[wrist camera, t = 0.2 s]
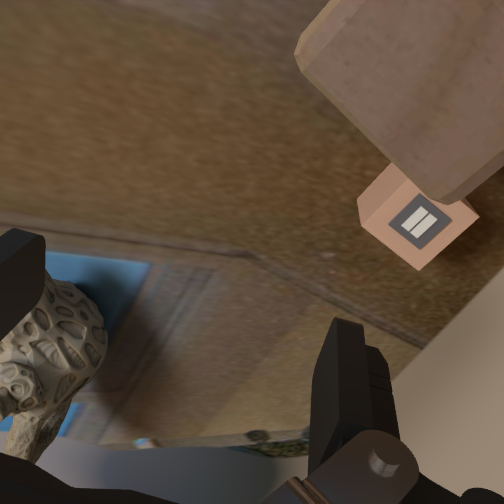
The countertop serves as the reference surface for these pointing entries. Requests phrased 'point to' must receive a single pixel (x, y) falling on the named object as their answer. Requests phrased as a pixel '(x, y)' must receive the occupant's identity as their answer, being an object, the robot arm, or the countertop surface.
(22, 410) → the teapot
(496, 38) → the wooden block
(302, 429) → the countertop surface
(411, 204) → the pink cube
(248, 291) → the countertop surface
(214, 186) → the countertop surface
